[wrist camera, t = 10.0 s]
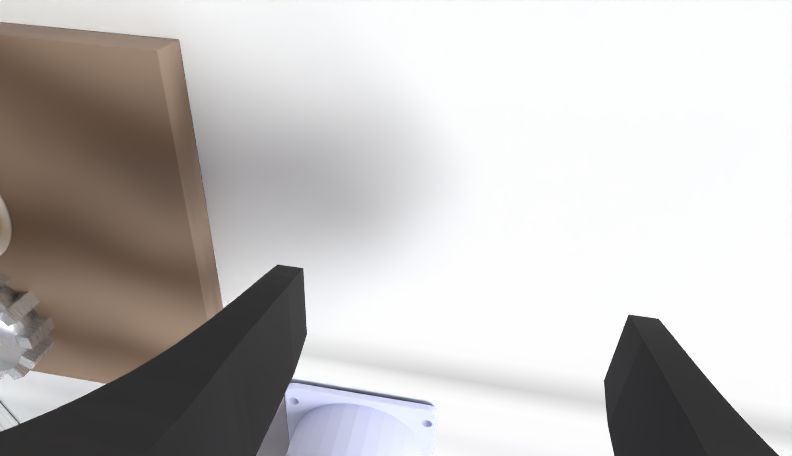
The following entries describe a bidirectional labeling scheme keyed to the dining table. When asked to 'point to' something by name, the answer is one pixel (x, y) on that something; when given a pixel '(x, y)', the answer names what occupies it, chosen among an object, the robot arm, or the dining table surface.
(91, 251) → the gear board
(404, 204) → the dining table surface
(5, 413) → the supplement box
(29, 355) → the gear
